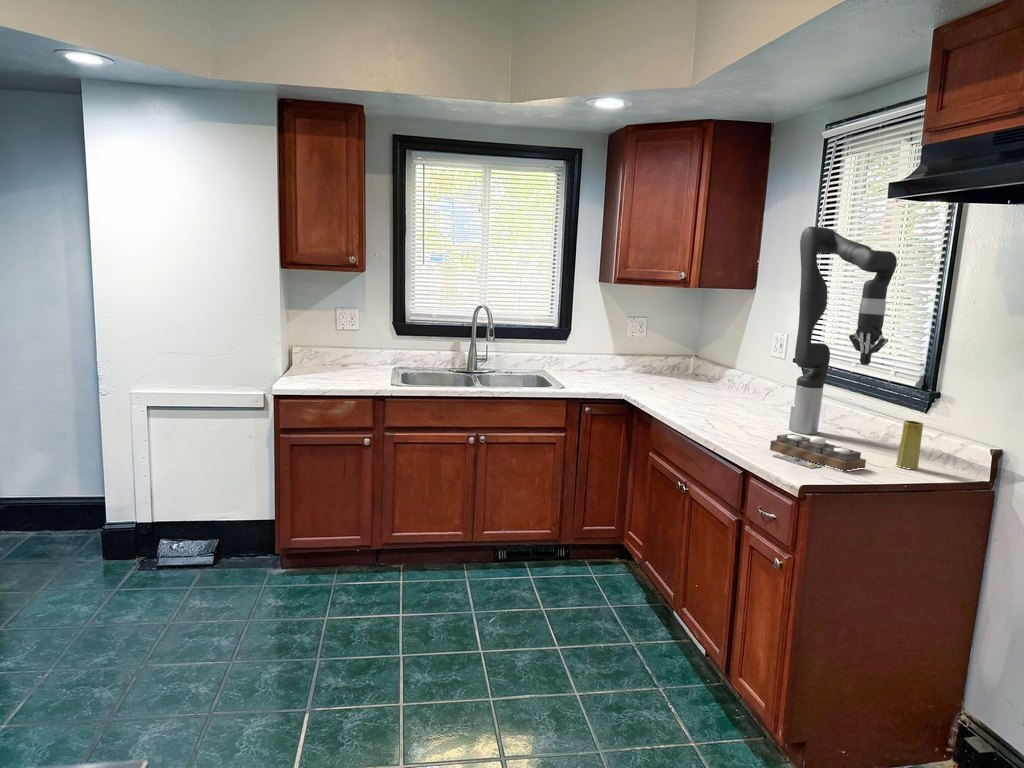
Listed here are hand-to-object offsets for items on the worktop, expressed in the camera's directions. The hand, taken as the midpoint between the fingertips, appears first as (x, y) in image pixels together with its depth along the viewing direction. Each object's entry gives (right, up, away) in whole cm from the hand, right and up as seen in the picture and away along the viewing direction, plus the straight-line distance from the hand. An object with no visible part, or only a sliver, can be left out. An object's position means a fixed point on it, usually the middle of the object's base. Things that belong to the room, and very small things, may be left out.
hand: (864, 364), depth 229 cm
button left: (-25, -26, -4) cm, 36 cm away
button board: (-21, -30, -11) cm, 39 cm away
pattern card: (-29, -30, -15) cm, 45 cm away
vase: (+5, -32, -15) cm, 36 cm away
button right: (-17, -28, -19) cm, 38 cm away
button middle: (-21, -25, -12) cm, 35 cm away
